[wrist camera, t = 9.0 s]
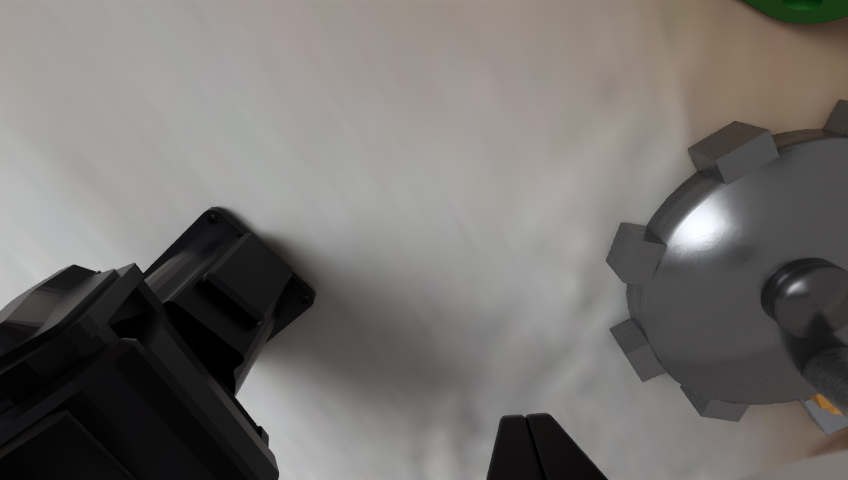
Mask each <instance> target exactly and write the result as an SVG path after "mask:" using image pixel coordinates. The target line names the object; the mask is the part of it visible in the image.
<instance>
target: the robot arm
mask: <svg viewBox="0 0 848 480" xmlns="http://www.w3.org/2000/svg"><path fill="white" fill-rule="evenodd" d="M211 215H215V216H216V217H217V218H218V219H219V222H216V221H214V220H213V219H212V216H211ZM301 295H306V296H307V297H308V298H309V299H303V298H302V297H301ZM315 298H316V294H315V292H314V290H313V289H312V288H311V287H310V286H308V285H307V284H306V283H305V282H304V281H303V280H302V279H301V278H299V277H298V276H297V275H296V274H295V273H294V272H293V271H292V269H291V267H290V266H289V265H287V264H286V263H285V262H284V261H283V260H282V259H281V258H280V257H278V256H277V255H276V254H275V253H274V252H273V251H272V250H271V249H270V248H268V247H267V246H266V245H265V244H264V243H263V242H262V241H261V240H259V239H258V238H257V237H256V236H255V235H254V234H251V233H249V232H248V231H247V230H246V229H244V228H243V227H242V226H241V225H240V224H239V223H238V222H237V221H235V220H234V219H233V218H232V217H231V216H230V215H229V214H228V213H226V212H225V211H224V210H223V209H221V208H219V207H211V208H210V209H208V210H207V211H205V212H204V213H203V214H202V215H201V216H200V217H199V218H198V219H197V220H196V221H195V222H194V223H193V224H192V225H191V226H190V227H189V228H188V229H187V230H186V231H185V232H184V233H183V234H182V235H181V236H180V237H179V238H178V239H177V240H176V241H175V242H174V243H173V244H172V245H171V246H170V247H169V248H168V249H167V250H166V251H165V252H164V253H163V254H162V255H161V256H160V257H159V258H158V259H157V260H156V261H155V262H154V263H153V264H152V265H151V266H150V267H149V268H148V269H147V270H146V271H145V272H144V273H142V271H141V270H140V269H139V267H138V266H137V265H136V264H135V263H132V264H130V265H127V266H125V267H122V268H120V269H118V270H115V269H112V270H109V271H106V272H103V273H101V271H100V270H99V271H97V272H96V271H93V270H90V269H86V268H83V267H80V266H77V265H71V266H69V267H67V268H64V269H62V270H60V271H58V272H56V273H55V274H53V275H51V276H50V277H48V278H47V279H45V280H43V281H42V282H40V283H38V284H37V285H35V286H34V287H32V288H30V289H29V290H27V291H26V292H24V293H23V294H21V295H20V296H18V297H17V298H15V299H14V300H12V301H11V302H10V303H9V304H7V305H6V306H5V307H4V308H3V309H2V310H1V311H0V480H278V478H279V470H278V467H277V463H276V459H275V456H274V454H273V453H272V452H271V450H270V449H269V436H268V434H267V433H266V432H265V430H264V429H263V428H262V427H261V426H257V425H256V423H255V422H254V421H253V419H252V418H251V417H250V416H249V414H248V413H247V412H246V410H245V409H244V408H243V407H242V405H241V404H240V403H239V401H238V400H237V399H236V398H235V397H236V395H237V393H238V391H239V389H240V388H241V386H242V384H243V382H244V380H245V379H246V377H247V375H248V373H249V371H250V369H251V368H252V366H253V364H254V362H255V360H256V359H257V357H258V355H259V353H260V351H261V350H262V348H263V346H264V344H265V343H266V342H268V341H269V340H270V339H271V338H273V337H274V336H275V335H276V334H277V333H279V332H280V331H281V330H282V329H284V328H285V327H286V326H287V325H289V324H290V323H291V322H292V321H293V320H295V319H296V318H297V317H298V316H300V315H301V314H302V313H303V312H305V311H306V310H307V309H308V308H310V307H311V306H312V305H313V303H314V301H315ZM486 480H608V479H607V478H606V477H605V475H604V474H603V473H602V472H601V471H600V470H599V469H598V468H597V466H596V465H595V464H594V463H593V462H592V461H591V460H590V459H589V457H588V456H587V455H586V454H585V453H584V452H583V451H582V450H581V448H580V447H579V446H578V445H577V444H576V443H575V442H574V441H573V439H572V438H571V437H570V436H569V435H568V434H567V433H566V432H565V430H564V429H563V428H562V427H561V426H560V425H559V424H558V423H557V421H556V420H555V419H554V418H553V417H552V416H551V415H550V414H548V413H536V414H528V415H526V417H524V416H523V415H506V416H503V417H502V418H501V419H500V423H499V427H498V432H497V436H496V440H495V444H494V449H493V453H492V457H491V462H490V466H489V470H488V474H487V479H486Z"/></svg>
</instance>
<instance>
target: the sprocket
mask: <svg viewBox="0 0 848 480" xmlns="http://www.w3.org/2000/svg"><path fill="white" fill-rule="evenodd" d="M688 151H689V154H690V156H691V158H692V160H693V162H694V165H695V167H696V169H697V171H698V172H696V173H695V174H694V175H692V176H691V177H690V178H689V179H687V180H686V181H685V182H684V183H683V184H681V185H680V186H679V187H678V188H677V189H676V190H675V191H674V192H673V193H672V194H671V195H670V196H669V197H668V198H667V199H666V201H665V202H664V203H663V204H662V205H661V207H660V208H659V209H658V210H657V211H656V213H655V214H654V215H653V217H652V218H651V220H650V222H649V223H648V225H647V226H646V227H645V226H639V225H633V224H628V223H622V222H621V224H620V226H619V229H618V231H617V234H616V236H615V239H614V241H613V244H612V246H611V249H610V251H609V254H608V256H607V259H606V262H607V263H608V265H609V266H610V267H611V268H612V270H613V271H614V272H615V273H616V274H617V276H618V277H619V278H620V279H621V281H622V282H624V283H627V292H626V294H627V303H628V309H629V312H630V316H631V318H630V319H628V320H626V321H624V322H622V323H620V324H618V325H616V326H614V327H612V328H610V329H609V330H610V331H611V333H612V334H613V336H614V338H615V339H616V341H617V342H618V344H619V346H620V347H621V349H622V350H623V352H624V354H625V355H626V357H627V358H628V360H629V362H630V363H631V365H632V366H633V368H634V370H635V371H636V373H637V374H638V376H639V377H640V379H641V381H642V382H645V381H647V380H649V379H651V378H653V377H656V376H658V375H660V374H662V373H664V372H667V373H668V374H669V375H670V376H671V377H672V378H673V379H674V380H676V381H677V382H679V383H680V384H681V386H680V388H681V390H682V391H683V392H684V394H685V395H686V396H687V398H688V399H689V401H690V402H691V403H692V405H693V406H694V407H695V409H696V410H697V412H698V413H699V414H700V416H703V417H709V418H716V419H723V420H729V421H736V422H739V420H740V419H741V417H742V416H743V414H744V413H745V411H746V410H747V408H748V406H749V405H750V404H773V403H783V402H788V401H794V400H799V399H803V398H807V397H809V398H810V399H811V400H812V401H814V402H815V403H816V404H817V405H818V406H819V407H820V408H821V409H822V410H824V409H827V408H829V407H832V406H834V407H835V408H836V409H837V410H838V411H839V412H841V413H842V414H843V415H844V416H845V417H846V418H847V419H848V101H846V100H839V101H838V102H837V104H836V106H835V108H834V110H833V112H832V113H831V115H830V117H829V119H828V121H827V122H826V124H825V126H824V128H823V129H805V130H798V131H791V132H784V133H780V134H776V135H771V132H770V130H768V129H764V128H760V127H756V126H752V125H748V124H745V123H741V122H737V121H734V122H732V123H731V124H729V125H727V126H725V127H724V128H722V129H720V130H719V131H717V132H715V133H713V134H712V135H710V136H708V137H707V138H705V139H703V140H702V141H700V142H698V143H696V144H695V145H693V146H691V147H690V148H688Z"/></svg>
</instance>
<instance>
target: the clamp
mask: <svg viewBox="0 0 848 480" xmlns="http://www.w3.org/2000/svg"><path fill="white" fill-rule="evenodd" d="M744 1H746V2H748V3H749V4H751V5H753V6H754V7H756V8H758V9H759V10H761V11H763V12H764V13H766V14H768V15H770V16H772V17H774V18H777V19H780V20H783V21H788V22H794V23H809V24H810V23H822V22H828V21H832V20H835V19H839V18H842V17H846V16H848V0H744Z"/></svg>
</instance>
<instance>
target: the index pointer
mask: <svg viewBox="0 0 848 480" xmlns="http://www.w3.org/2000/svg"><path fill="white" fill-rule="evenodd" d="M799 401H800V402H801V404H802V405H803V406H804V408H805V409H806V411H807V412H808V414H809V415H810V417H811V418H812V420H813V421H814V423H815V424H816V425H817V426H818V427H819V428H820V429H821V430H822V431H823V432H824V433H825V434H826V435H829V434H831V433H834V432H836V431H838V430H840V429H842V428H844V427H847V426H848V419H847V418H846V417H845V416H844V415H843V414H842V413H841V412H839V411H838V410H837V409H836V408H835V407H834V406H832V407H829V408H827V409H824V410H822V409H821V408H820V407H819V406H818V405H817V404H816V403H815V402H814V401H812V400H811V399H810V398H809V397H807V398H803V399H799Z"/></svg>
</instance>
